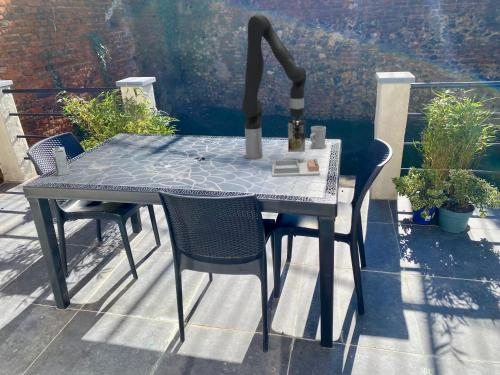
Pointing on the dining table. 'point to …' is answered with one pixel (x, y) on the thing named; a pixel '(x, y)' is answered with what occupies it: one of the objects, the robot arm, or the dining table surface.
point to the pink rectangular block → (312, 165)
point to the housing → (291, 169)
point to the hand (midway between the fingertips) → (296, 137)
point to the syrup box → (60, 161)
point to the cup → (318, 137)
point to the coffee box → (292, 142)
